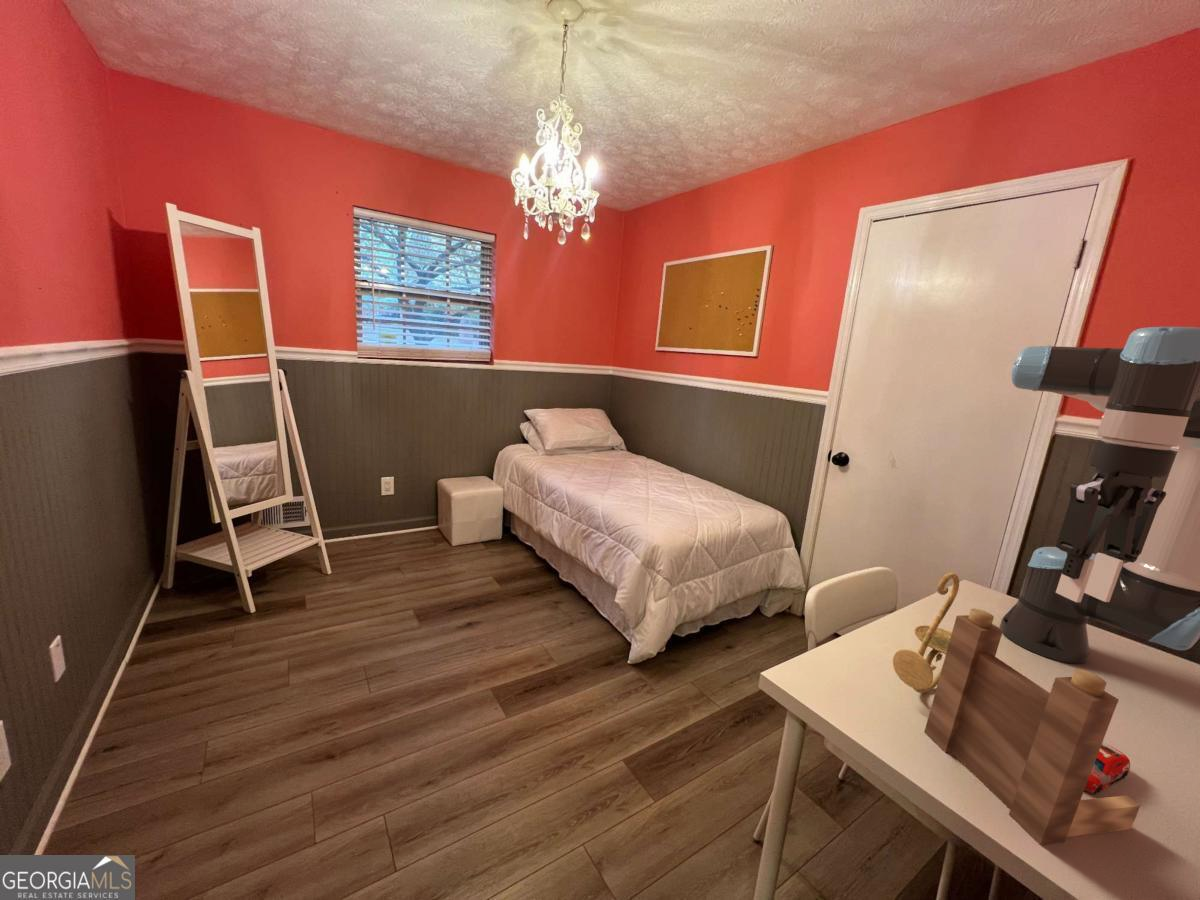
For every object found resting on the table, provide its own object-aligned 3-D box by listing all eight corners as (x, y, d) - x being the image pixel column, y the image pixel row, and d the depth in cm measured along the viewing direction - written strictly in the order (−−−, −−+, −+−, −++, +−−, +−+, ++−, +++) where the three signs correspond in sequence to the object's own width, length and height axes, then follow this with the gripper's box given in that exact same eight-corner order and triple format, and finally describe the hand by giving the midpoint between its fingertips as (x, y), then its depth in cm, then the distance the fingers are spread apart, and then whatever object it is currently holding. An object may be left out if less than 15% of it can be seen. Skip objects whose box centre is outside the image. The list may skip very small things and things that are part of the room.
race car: (1088, 800, 67) (1097, 778, 66) (1043, 769, 72) (1050, 747, 71) (1135, 778, 72) (1143, 757, 71) (1089, 749, 77) (1097, 729, 76)
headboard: (1002, 726, 80) (1041, 605, 75) (1135, 833, 62) (1197, 684, 57) (924, 732, 77) (959, 606, 72) (1040, 844, 60) (1096, 689, 55)
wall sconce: (930, 721, 80) (967, 591, 74) (877, 684, 88) (907, 565, 82) (972, 699, 86) (1008, 578, 80) (919, 667, 94) (948, 555, 89)
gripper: (1148, 441, 68) (1098, 584, 72) (1052, 434, 65) (1007, 584, 69) (1222, 452, 60) (1161, 610, 65) (1118, 446, 57) (1062, 612, 62)
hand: (1082, 596), depth 67 cm, fingers open, 4 cm apart
